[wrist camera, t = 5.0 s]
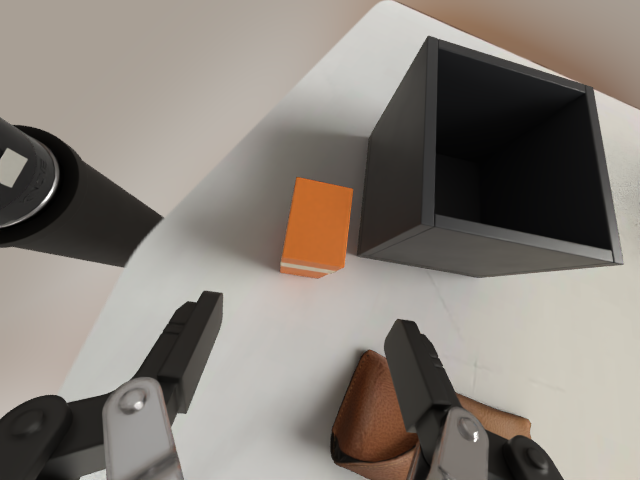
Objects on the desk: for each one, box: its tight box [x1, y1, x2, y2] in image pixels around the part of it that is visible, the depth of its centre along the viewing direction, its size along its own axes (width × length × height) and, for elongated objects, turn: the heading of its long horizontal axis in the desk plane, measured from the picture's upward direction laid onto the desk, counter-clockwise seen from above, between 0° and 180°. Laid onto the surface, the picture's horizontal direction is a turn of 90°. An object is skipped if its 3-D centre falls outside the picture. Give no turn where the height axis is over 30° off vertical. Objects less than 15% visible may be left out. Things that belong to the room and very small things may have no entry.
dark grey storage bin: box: [357, 36, 624, 278], centre depth 21 cm, size 14×14×11 cm
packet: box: [280, 177, 353, 278], centre depth 19 cm, size 4×5×9 cm
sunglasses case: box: [330, 350, 532, 480], centre depth 20 cm, size 18×7×7 cm
